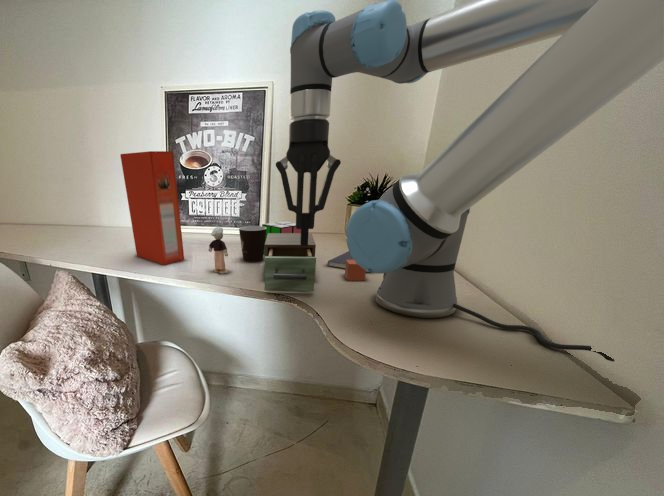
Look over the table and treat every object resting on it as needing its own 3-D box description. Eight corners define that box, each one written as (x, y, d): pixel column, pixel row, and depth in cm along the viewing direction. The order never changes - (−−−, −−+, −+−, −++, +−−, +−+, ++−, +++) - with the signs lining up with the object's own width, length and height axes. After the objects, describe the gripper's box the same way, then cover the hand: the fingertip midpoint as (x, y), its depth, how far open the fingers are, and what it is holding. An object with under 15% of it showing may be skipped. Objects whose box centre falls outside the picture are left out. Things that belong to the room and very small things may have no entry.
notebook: (355, 252, 114) (327, 266, 99) (355, 247, 114) (327, 260, 98) (393, 257, 107) (369, 273, 92) (394, 252, 106) (370, 267, 91)
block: (364, 280, 86) (366, 264, 84) (347, 280, 87) (348, 263, 85) (361, 275, 90) (363, 259, 88) (344, 275, 90) (346, 259, 89)
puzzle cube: (302, 254, 113) (304, 224, 109) (280, 259, 107) (280, 227, 103) (283, 249, 120) (284, 221, 116) (261, 253, 115) (261, 223, 111)
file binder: (162, 265, 104) (148, 151, 91) (136, 256, 115) (120, 153, 102) (184, 260, 109) (173, 151, 96) (156, 252, 120) (143, 153, 107)
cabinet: (313, 281, 86) (315, 244, 82) (264, 281, 87) (264, 244, 84) (309, 265, 100) (311, 233, 96) (267, 265, 102) (268, 233, 98)
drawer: (315, 299, 72) (318, 264, 69) (263, 298, 74) (263, 263, 70) (309, 273, 90) (311, 244, 87) (267, 272, 91) (268, 244, 88)
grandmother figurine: (234, 271, 96) (233, 226, 91) (226, 275, 93) (224, 228, 88) (213, 268, 100) (210, 224, 94) (205, 271, 97) (202, 226, 92)
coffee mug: (264, 263, 103) (264, 230, 99) (237, 262, 105) (236, 230, 101) (269, 254, 113) (269, 224, 109) (244, 254, 115) (243, 224, 111)
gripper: (341, 121, 66) (332, 240, 76) (275, 124, 68) (274, 241, 77) (347, 115, 59) (337, 247, 69) (274, 119, 61) (273, 248, 70)
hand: (304, 244), depth 73 cm, fingers closed
